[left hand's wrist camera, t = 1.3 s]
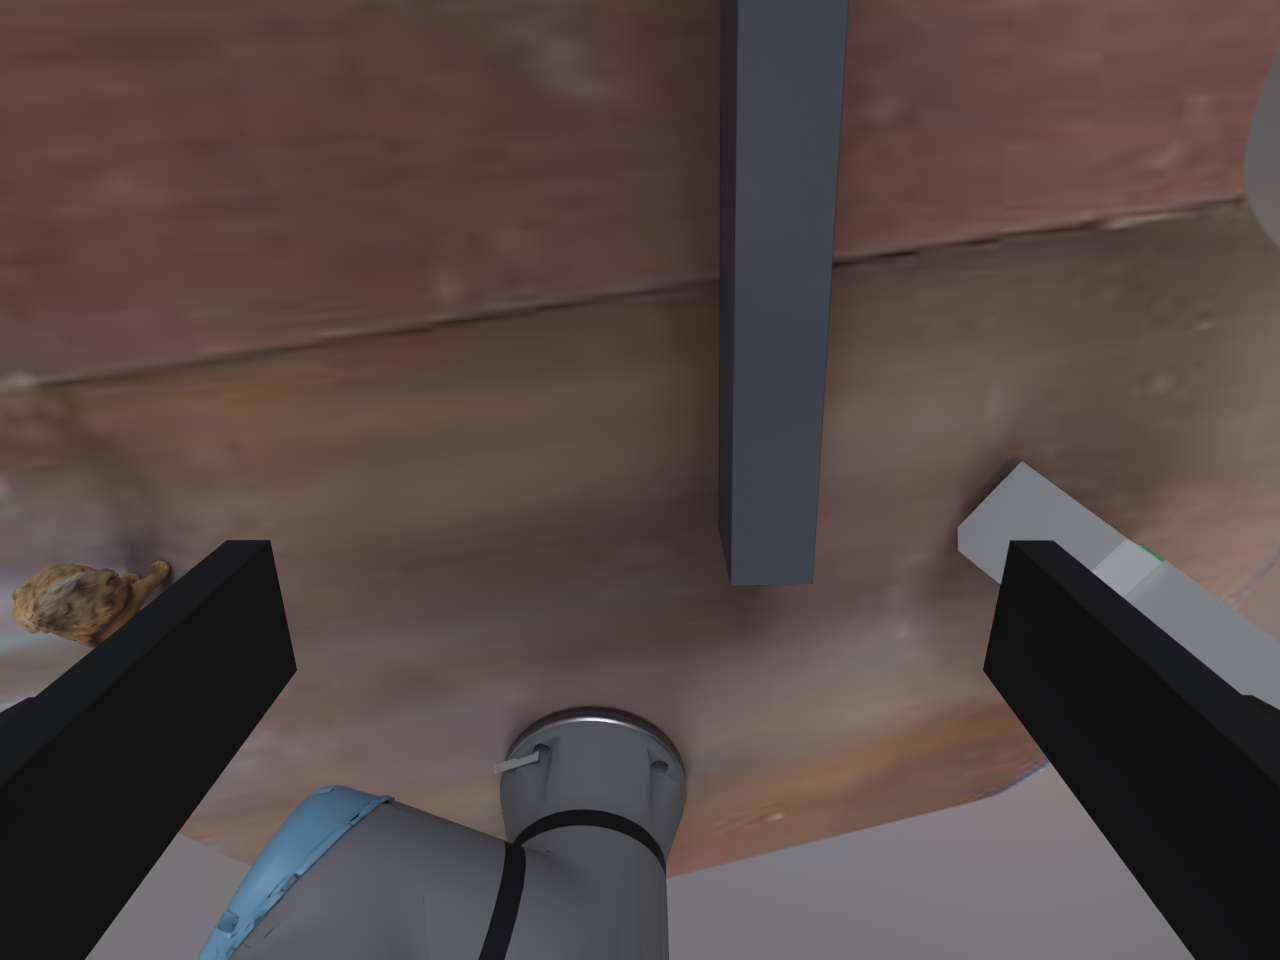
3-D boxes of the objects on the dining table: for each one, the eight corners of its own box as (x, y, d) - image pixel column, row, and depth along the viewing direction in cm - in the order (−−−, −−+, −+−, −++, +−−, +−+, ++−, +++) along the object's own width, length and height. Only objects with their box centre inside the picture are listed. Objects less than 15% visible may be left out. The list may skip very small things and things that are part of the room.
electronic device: (1139, 544, 51) (1720, 968, 23) (1060, 617, 54) (1503, 1080, 26) (1015, 451, 49) (1505, 803, 21) (938, 532, 51) (1286, 944, 23)
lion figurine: (78, 536, 52) (-31, 603, 43) (142, 516, 51) (43, 581, 43) (185, 693, 57) (106, 780, 49) (244, 677, 56) (174, 763, 48)
